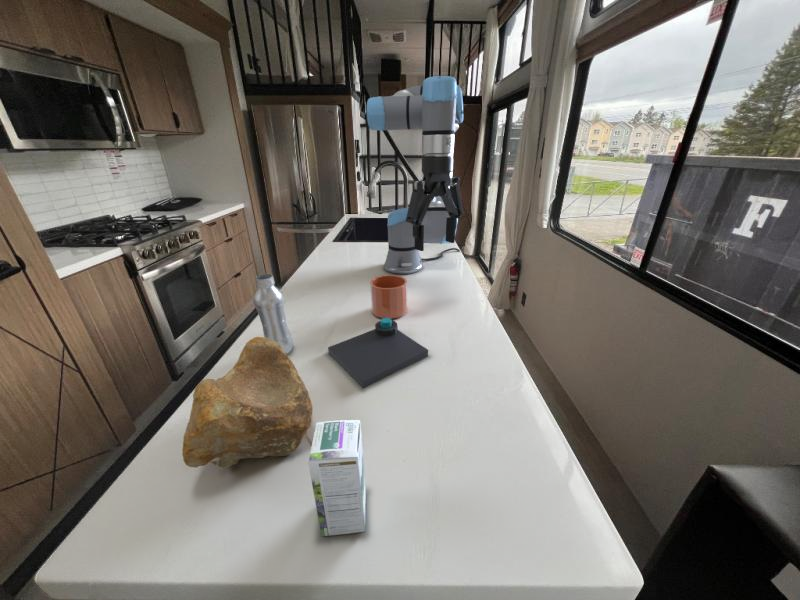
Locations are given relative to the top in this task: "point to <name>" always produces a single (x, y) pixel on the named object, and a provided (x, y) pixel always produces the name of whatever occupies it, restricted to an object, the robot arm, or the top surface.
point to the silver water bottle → (272, 312)
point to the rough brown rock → (248, 410)
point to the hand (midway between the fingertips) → (435, 245)
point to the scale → (377, 354)
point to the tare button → (386, 323)
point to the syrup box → (338, 477)
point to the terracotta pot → (389, 296)
